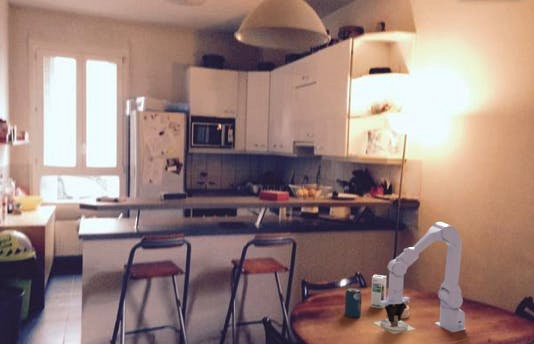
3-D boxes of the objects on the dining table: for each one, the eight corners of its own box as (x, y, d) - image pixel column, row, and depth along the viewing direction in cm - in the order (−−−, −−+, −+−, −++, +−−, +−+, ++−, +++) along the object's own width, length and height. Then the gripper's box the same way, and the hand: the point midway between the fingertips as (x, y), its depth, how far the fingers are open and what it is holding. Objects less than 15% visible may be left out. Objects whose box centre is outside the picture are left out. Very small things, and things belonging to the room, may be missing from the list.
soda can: (362, 319, 187) (363, 292, 186) (346, 319, 187) (347, 291, 186) (358, 313, 194) (359, 287, 193) (343, 313, 194) (344, 286, 193)
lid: (413, 328, 178) (414, 317, 178) (393, 333, 173) (394, 321, 172) (394, 318, 188) (394, 308, 187) (374, 322, 182) (375, 311, 182)
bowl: (413, 317, 191) (413, 308, 191) (397, 320, 187) (398, 311, 187) (398, 310, 199) (398, 301, 199) (383, 313, 195) (383, 304, 195)
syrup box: (370, 307, 202) (371, 276, 201) (373, 303, 207) (374, 273, 207) (382, 309, 199) (384, 278, 199) (385, 305, 205) (386, 275, 204)
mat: (415, 329, 178) (415, 328, 178) (393, 334, 172) (393, 333, 172) (394, 319, 188) (394, 318, 188) (373, 323, 183) (373, 322, 183)
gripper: (401, 284, 186) (400, 315, 187) (375, 288, 180) (374, 320, 180) (414, 289, 180) (412, 321, 181) (387, 293, 173) (386, 326, 174)
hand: (394, 321), depth 180 cm, fingers closed on lid, 3 cm apart
